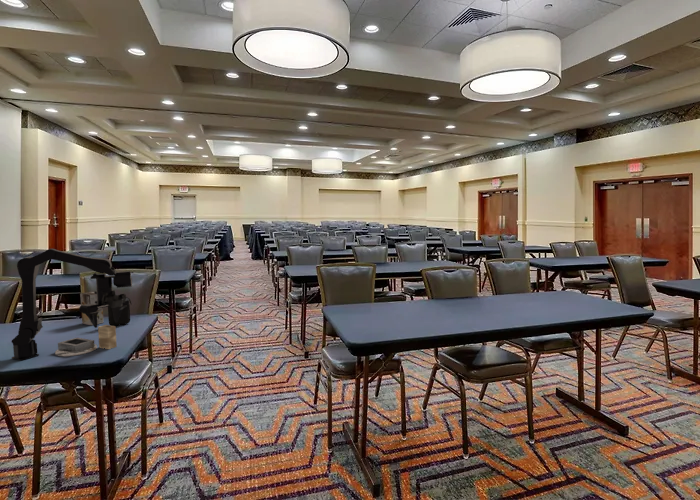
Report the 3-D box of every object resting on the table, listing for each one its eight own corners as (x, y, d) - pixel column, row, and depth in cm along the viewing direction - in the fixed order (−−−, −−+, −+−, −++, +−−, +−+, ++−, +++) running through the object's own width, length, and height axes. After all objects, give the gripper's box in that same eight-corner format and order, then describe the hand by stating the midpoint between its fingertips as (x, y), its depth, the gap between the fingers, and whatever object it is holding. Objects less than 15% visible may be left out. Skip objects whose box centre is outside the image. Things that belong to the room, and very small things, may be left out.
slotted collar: (70, 358, 160) (69, 349, 159) (47, 353, 165) (46, 344, 165) (104, 347, 173) (104, 338, 172) (82, 343, 178) (81, 335, 178)
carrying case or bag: (132, 322, 213) (130, 295, 212) (133, 323, 210) (131, 295, 209) (108, 326, 206) (106, 297, 205) (109, 327, 204) (107, 298, 203)
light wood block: (109, 349, 170) (107, 328, 170) (99, 347, 173) (98, 326, 172) (116, 346, 174) (115, 326, 173) (106, 345, 176) (105, 324, 175)
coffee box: (104, 322, 213) (102, 292, 212) (91, 325, 207) (89, 294, 206) (93, 320, 217) (92, 291, 216) (81, 323, 212) (79, 293, 210)
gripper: (96, 293, 159) (98, 332, 161) (137, 286, 176) (139, 321, 178) (77, 291, 164) (79, 329, 165) (119, 284, 181) (121, 319, 182)
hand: (106, 324), depth 172 cm, fingers open, 9 cm apart
